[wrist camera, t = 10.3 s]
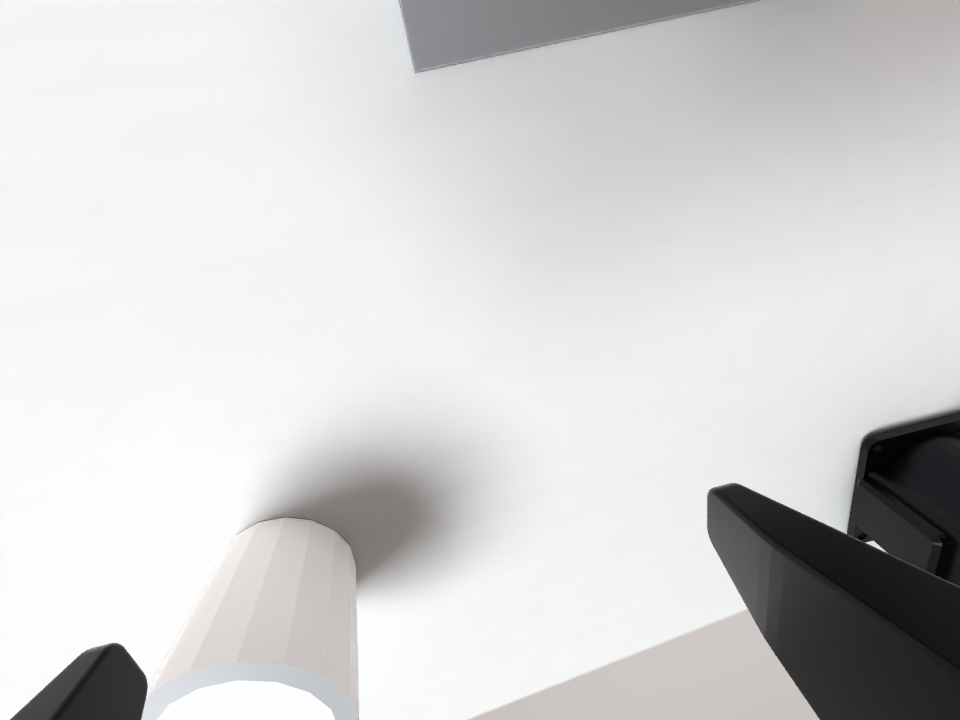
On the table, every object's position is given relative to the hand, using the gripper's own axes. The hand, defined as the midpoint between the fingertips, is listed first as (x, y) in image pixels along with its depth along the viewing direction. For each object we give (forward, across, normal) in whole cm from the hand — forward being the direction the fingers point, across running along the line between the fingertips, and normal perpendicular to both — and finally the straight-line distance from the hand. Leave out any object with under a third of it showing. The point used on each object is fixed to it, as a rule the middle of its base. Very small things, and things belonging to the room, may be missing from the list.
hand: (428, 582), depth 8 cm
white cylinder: (+12, +8, +10) cm, 18 cm away
